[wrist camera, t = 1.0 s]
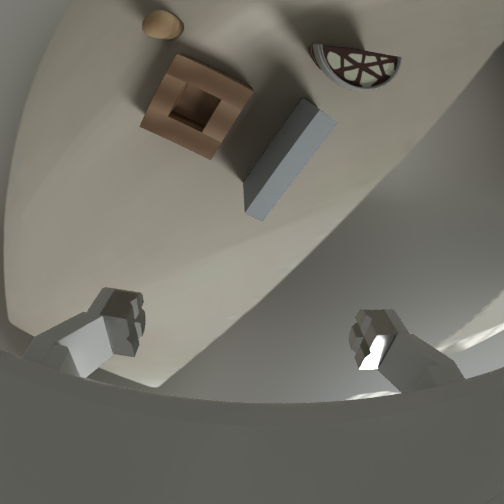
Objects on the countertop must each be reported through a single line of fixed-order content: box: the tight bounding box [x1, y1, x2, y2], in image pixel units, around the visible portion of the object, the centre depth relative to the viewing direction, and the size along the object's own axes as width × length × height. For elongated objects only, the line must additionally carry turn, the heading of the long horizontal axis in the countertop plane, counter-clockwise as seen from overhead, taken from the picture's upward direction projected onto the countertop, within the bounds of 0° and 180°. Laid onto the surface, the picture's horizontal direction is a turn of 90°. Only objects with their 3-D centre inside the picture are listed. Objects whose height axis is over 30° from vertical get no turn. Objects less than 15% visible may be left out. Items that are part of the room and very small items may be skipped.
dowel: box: [142, 10, 184, 40], centre depth 28 cm, size 4×4×8 cm
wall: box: [243, 98, 337, 221], centre depth 41 cm, size 18×3×10 cm, turn 148°
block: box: [140, 54, 254, 160], centre depth 37 cm, size 12×12×5 cm
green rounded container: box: [310, 44, 402, 91], centre depth 32 cm, size 12×6×10 cm, turn 92°
